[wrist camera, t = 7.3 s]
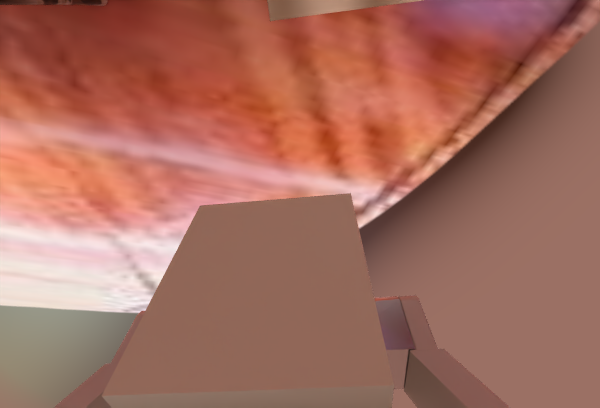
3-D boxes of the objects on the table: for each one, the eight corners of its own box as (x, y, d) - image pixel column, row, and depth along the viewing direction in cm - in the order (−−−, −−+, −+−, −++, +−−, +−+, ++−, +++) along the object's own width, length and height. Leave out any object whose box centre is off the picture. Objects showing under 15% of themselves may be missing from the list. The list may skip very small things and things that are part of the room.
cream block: (233, 304, 13) (188, 492, 8) (200, 205, 10) (101, 395, 5) (352, 297, 13) (382, 489, 8) (350, 193, 10) (393, 385, 5)
